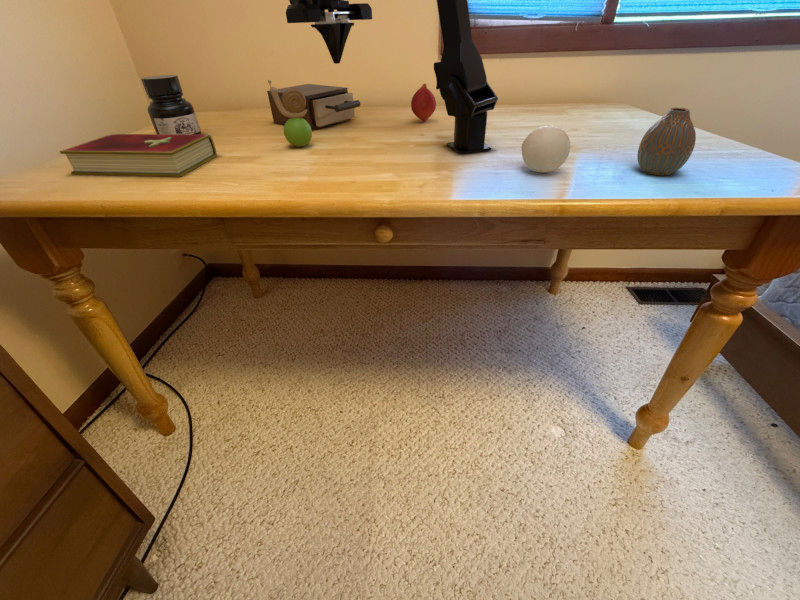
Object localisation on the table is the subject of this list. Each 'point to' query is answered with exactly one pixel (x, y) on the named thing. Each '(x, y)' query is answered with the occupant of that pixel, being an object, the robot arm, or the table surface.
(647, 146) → the vase
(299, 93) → the snail figurine
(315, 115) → the drawer
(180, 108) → the ink bottle
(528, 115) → the table surface
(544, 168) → the beige round ball
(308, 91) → the cabinet
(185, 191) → the table surface
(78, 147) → the hardcover book
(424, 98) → the onion
